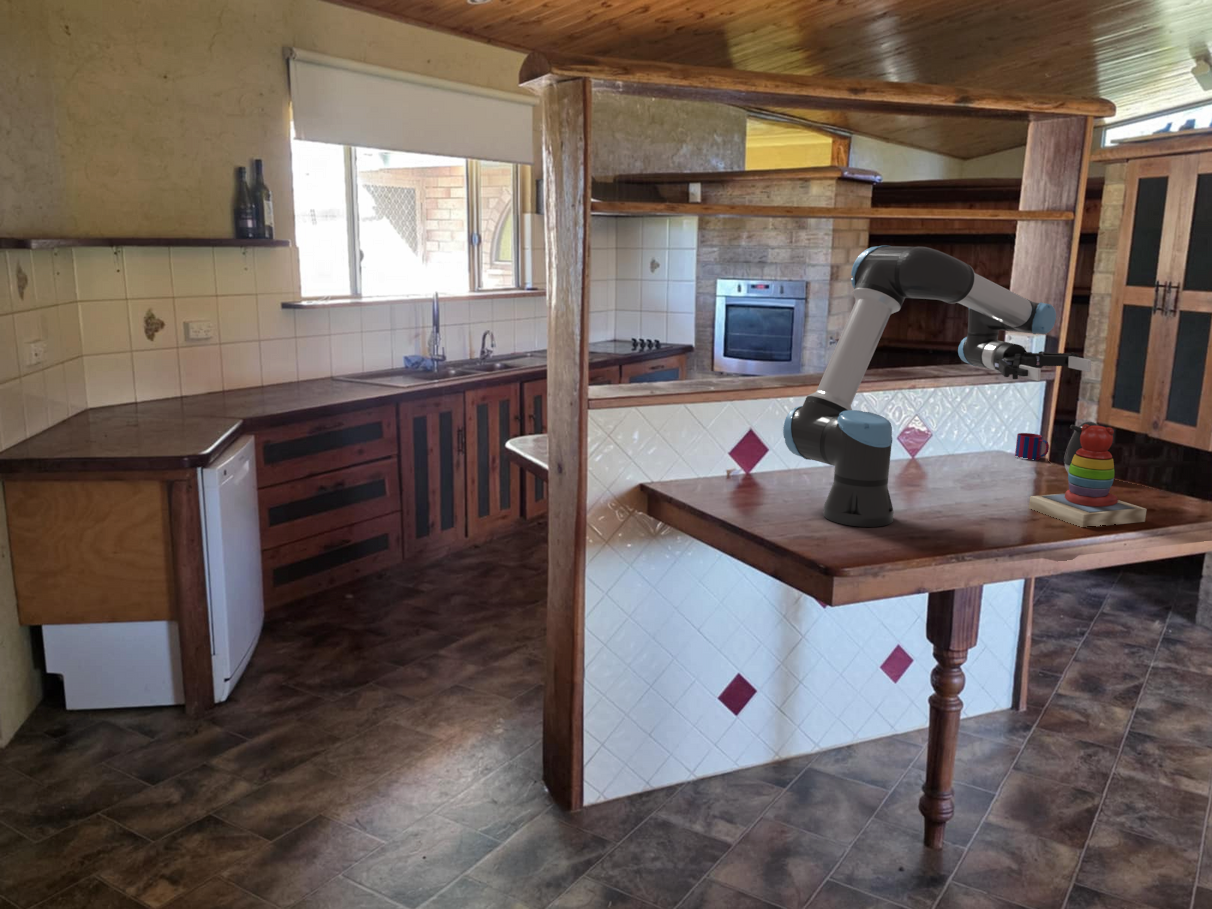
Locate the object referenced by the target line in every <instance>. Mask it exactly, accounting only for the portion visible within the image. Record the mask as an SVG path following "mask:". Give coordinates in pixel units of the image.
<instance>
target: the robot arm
mask: <svg viewBox="0 0 1212 909" xmlns="http://www.w3.org/2000/svg"><path fill="white" fill-rule="evenodd" d="M850 276H851V277H852V278H851V279H850V282H851V286H852V288H853V290H852V295H853V297H854V299H855V302H854V304H853V307H852V309H851V311H850V314H849V316H848V318H847V320H846V323H845V324H844V327H843V329H842V332H841V335H840V337H839V338H838V341H837V343H836V346H835V348H834V350H833V353H832V354H831V356H830V360H829V362H828V364H827V366H826V367H825V368H826V369H825V370H824V373H823V375H822V378H820V379H821V380H820V382H819V385H818V386H817V389H816V391H814V392H813V393H810V394H807V396H806V398H805V400H804V402H803V404H802V405H799V406H795V407H794V408H792V409H790V411H789V412H788V413H787V415H786V417H785V419H784V423H783V427H782V430H783V431H782V434H783V438H784V443H785V446H786V448H787V449H788V450H789V451H790V452H791V453H792V454H794V455H795V456H797V457H799V458H803V459H805V460H809V461H815V462H819V463H823V464H826V465H830V466H833V467H834V471H833V472H834V474H833V476H834V477H833V482H832V483H833V484H832V485H831V488H830V490H829V493H828V495H827V498H826V500H825V502H824V504H823V517H824V518H825V519H827V520H828V521H831V522H834V523H838V524H840V525H844V526H845V525H846V526H852V527H853V526H854V527H860V528H861V527H865V528H867V527H868V528H873V527H874V528H875V527H883V526H888V525H891V524H892V523H893V521H894V508H893V502H892V499H891V495H890V491H889V475H890V474H889V473H890V462H891V452H892V446H893V445H892V444H893V427H892V424H891V421H890V420H889V419H887V418H886V417H885V416H882V415H879V414H877V413H874V412H870V411H863V410H854V409H853V408H852V403H853V401H854V399H855V397H856V395H857V393H858V390H859V388H860V385H861V384H862V382H863V379H864V376H865V375H866V372H867V369H868V367H869V365H870V362H871V360H872V358H873V356H874V354H875V351H876V349H877V347H878V344H879V341H880V339H881V337H882V335H883V332H884V330H885V328H886V327H887V324H888V321H889V319H890V316H891V315H892V314H894V313H897V312H899V311H900V310H901V308H902V306H903V303H904V301H905V299H923V300H925V299H926V300H937V301H942V302H944V303H947V304H956V303H957V304H960V305H962V306H964V307H966V308H968V316H967V317H968V318H967V319H968V320H967V322H968V323H967V334H966V336H965V337H964V338H963V339H961V340H960V343H959V345H958V349H957V353H958V356H959V358H960V360H961V361H962V362H964V363H966V364H968V365H971V366H973V367H978V368H979V367H980V368H984V369H988V370H993V371H995V372H996V374H999V373H1000V374H1001V375H1002V376H1003V377H1004V378H1009V377H1010V375H1012V376H1011V377H1012V380H1018V379H1019V378H1020V377H1021V378H1024V379H1028V380H1033V381H1037V382H1038V381H1039V382H1040V381H1041V380H1042V379H1041V378H1042V377H1041V371H1042V368H1043V367H1067V368H1069V369H1073V370H1078V371H1083V372H1088V373H1090V372H1092V359H1088V358H1084V357H1080V356H1079V353H1075V352H1071V353H1066V352H1064V353H1063V352H1048V351H1042V350H1040V351H1038V352H1031V351H1027V350H1026V348H1025V347H1024V346H1023V345H1020V344H1017V343H1011V342H1008V341H1002V340H999V333H1000V332H999V331H1006V332H1017V333H1024V334H1025V333H1026V334H1033V335H1036V334H1037V335H1039V334H1040V335H1045V334H1048V333H1049V332H1051V331H1052V330H1053V328H1054V327H1055V323H1056V320H1057V311H1056V308H1055V307H1054V306H1053V305H1052V304H1051V303H1045V302H1042V301H1041V302H1036V301H1032V300H1030V299H1028V298H1026V297H1023V296H1021V295H1019V294H1017V293H1016V292H1014V291H1012V290H1010V289H1008V288H1005V287H1003V286H1001V285H999V284H998V283H995V282H993V281H992V280H990V279H987V278H986V277H984V276H982V275H980V274H978V273H976V272H975V270H974V268H973V267H972V265H970V264H968V263H966V262H964V261H962V260H961V259H958V258H956V257H954V256H952V255H950V254H947V253H945V252H943V251H940V250H938V249H934V248H932V247H927V246H894V245H893V246H891V245H886V244H885V245H879V246H871V247H869V248H867V249H864V250H863V251H862V252H861V253H860V254H859V255H858V256H857V257H856V259H855V261H854V262H853V265H852V267H851V271H850Z"/></svg>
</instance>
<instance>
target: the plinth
mask: <svg viewBox="0 0 1212 909" xmlns="http://www.w3.org/2000/svg"><path fill="white" fill-rule="evenodd" d="M1028 509H1029V510H1031V509H1032V510H1031V511H1034V510H1035V511H1034V512H1037V511H1038V512H1037V513H1039V512H1040V514H1042V513H1043V515H1045V514H1046V515H1045V516H1048V515H1049V516H1048V517H1050V516H1051V518H1053V517H1054V519H1056V518H1057V519H1056V520H1059V519H1060V520H1059V521H1062V520H1063V522H1064V521H1065V523H1067V522H1068V524H1070V523H1071V524H1070V525H1073V524H1074V526H1075V525H1077V526H1076V527H1078V526H1080V527H1079V528H1081V527H1086V528H1088V527H1087V526H1096V527H1103V526H1102V525H1106V526H1115V525H1114V524H1116V525H1124V524H1134V523H1135V524H1137V523H1145V522H1146V516H1147V508H1145V507H1142V506H1138V505H1136V504H1133V503H1129V502H1126V501H1122V500H1120V499H1118V502H1117V503H1116V504H1114V505H1111V506H1103V507H1093V506H1084V505H1079V504H1075V503H1072V502H1069V501H1068V500H1066V499H1065V493H1056V494H1055V493H1054V494H1043V495H1031V496H1030V497H1029V504H1028ZM1100 525H1101V526H1100Z"/></svg>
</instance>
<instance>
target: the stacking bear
mask: <svg viewBox="0 0 1212 909" xmlns="http://www.w3.org/2000/svg"><path fill="white" fill-rule="evenodd" d="M1081 429H1082V433H1081V435H1080V443H1081V446H1082V448H1080V449H1079V450H1077V452H1076V454H1075V455H1074V457H1073V459H1072V463H1071V464H1070V467H1069V473H1068V472H1067V475H1068V476H1067V479H1068V480H1067V481H1068V489H1067V490H1066V491H1065V492H1064V494H1065V499H1066V500H1068V501H1069V502H1072V503H1075V504H1079V505H1084V506H1093V507H1103V506H1111V505H1114V504H1116V503H1117V502H1118V500H1119V498H1118V496H1117V495H1115V494H1113V493H1110V490H1111V487H1112V486H1113V483H1114V480H1115V465H1114V464H1115V463H1114V462H1115V461H1114V458H1113V455H1112V453H1111V452H1110V451H1108V450H1110V448H1111V447H1112V445H1113V441H1114V433H1115V431H1114V429H1113V428H1112V427H1105V426H1102V425H1098V426H1090V425H1087V424H1086V425H1083V426H1082V428H1081Z"/></svg>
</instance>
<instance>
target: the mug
mask: <svg viewBox="0 0 1212 909" xmlns="http://www.w3.org/2000/svg"><path fill="white" fill-rule="evenodd" d="M1043 442H1044V444H1045V450H1044V453H1043V454H1041V451H1042V443H1043ZM1015 444H1016V445H1015V451H1014V454H1015V455H1014V457H1015V456H1018V457H1023V458H1028V459H1034V460H1033V461H1039V460H1040V459H1041V458H1043V457H1046V455H1047V454H1048V453H1049V450H1050V444H1049V442H1048V441H1047V440H1045V439H1043V435H1042V434H1037V433H1031V432H1030V433H1029V432H1020V433H1019V432H1018V433H1017V434H1016V442H1015Z"/></svg>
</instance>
